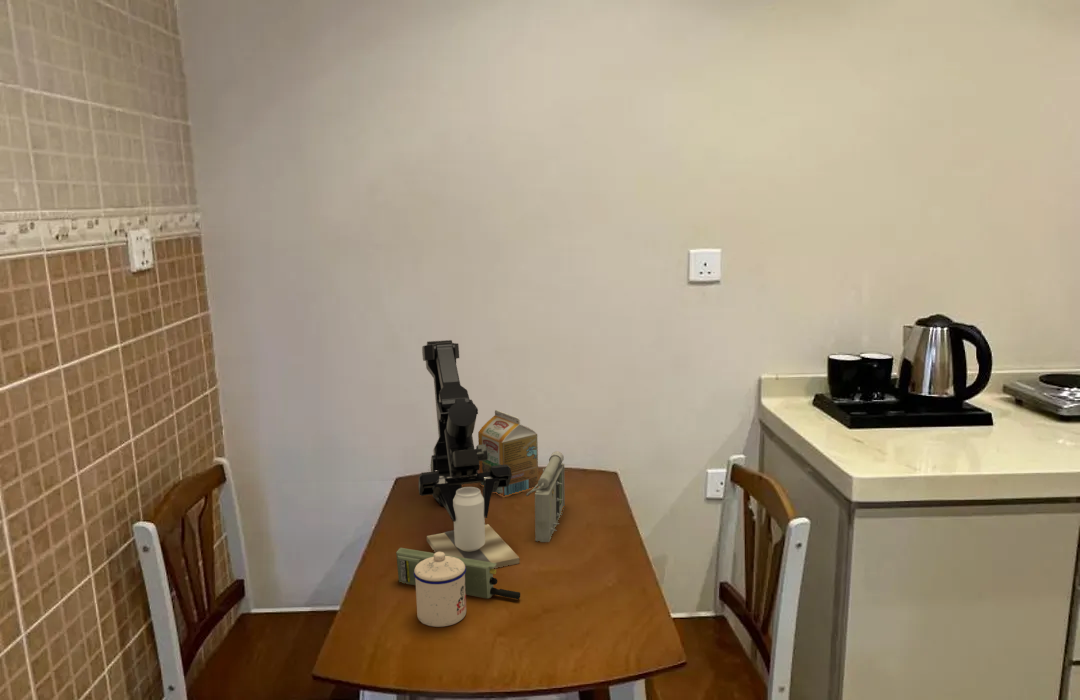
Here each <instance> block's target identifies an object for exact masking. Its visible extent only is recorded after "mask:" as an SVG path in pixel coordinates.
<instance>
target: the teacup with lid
mask: <svg viewBox="0 0 1080 700" xmlns="http://www.w3.org/2000/svg"><path fill="white" fill-rule="evenodd" d="M434 553H435V552H434ZM465 572H466V567H465V564H464V563H463V562H462V561H461V560H460V559H458V558H455V557H452V556H445V554H444V553H443V552H436V553H435V554H434V557H430V558H427V559H425V560H423V561H421V562H419V563H418V564H417V565H416V567H415V569H414V576H415V581H416V585H415V596H416V597H415V598H416V600H415V601H416V613H417V614H416V616H417V619H418V621H419V622H421V624H423V625H426V626H429V627H434V628H435V627H436V628H443V627H448V626H452V625H455V624H457V623H459V622H460V621H462V620H463V619H464V618H465V616H466V614H467V595H466V590H465Z"/></svg>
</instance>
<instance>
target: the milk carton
mask: <svg viewBox="0 0 1080 700" xmlns="http://www.w3.org/2000/svg"><path fill="white" fill-rule="evenodd" d="M477 436H478V438H477V439H478V445H483V444H486V447H487V454H488V459H487V460H485V461H479V467H480V468H479V470H478V471H479V473H485V472H490V468H491V466H496V465H506V464H507V465H508V466H509V467H510V468H511V474H512V476H511V480H510V483H509V486H507V487H500V488H497V491H495V492H497V493H498V494H501V495H503V496H505V495H509V494H512V493H515V492H519V491H522V490H526V489H529V488H532V487H535V486H536V485H537V484H538V481H539V456H538V455H539V451H538V450H539V449H538V448H539V446H538V443H539V442H538V433H537V432H536V431H535V430H533V429H532V428H530V427H527V426H525V425H523V424H521V419H520V418H519V417H517V416H515V415H511V414H509V413H506V412H503V411H500V410H498V409H495V410H494V415H493V416H492V417H491V418H490V419H489V420H487V421H486V423H484V425H483V426H481V428H480V429H479V431H478V435H477ZM480 484H481V485H484V482H480V483H479V485H480Z"/></svg>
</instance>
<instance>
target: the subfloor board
mask: <svg viewBox="0 0 1080 700" xmlns="http://www.w3.org/2000/svg"><path fill="white" fill-rule="evenodd" d="M426 542H427V544H428V545H429V546H430V548H431V549H432V551H433V550H434V551H433V553H436V552H443V553H444V554H445V555H449V556H455V557H461V558H467V559H473V560H480V561H486V562H492V563H496V566H495V567H494V568H495V569H499V568H498V567H500V568H503V566H504V567H507V566H508V565H509V566H513V565H517V564H520V557H519V555H518V554H517V553H516V552H515V551H514V550H513V549H512V548H511V547H510V546H509V544H508V543H506V542H505V541H504V540H503V538H502V537H501V536H500V535H499V534H498V533H497V532H496V531H495V529H494V528H493V527H492V526H490V524H488V523H487V524H485V544H484V545H483V546H482V547H481V548H479V549H478V550H475V551H463V550H461V549H459V548H457V547H456V546H455V538H454V529H452V530H448V531H444V532H442V533H436V534H431V535H426ZM494 568H492V569H494Z"/></svg>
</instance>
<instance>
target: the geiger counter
mask: <svg viewBox="0 0 1080 700" xmlns="http://www.w3.org/2000/svg"><path fill="white" fill-rule="evenodd" d="M564 459H565V458H564V454H563V452H561V451H557V450H556V451H553V452H552V454H551V455H550V456H549V459H548V463H547V465H546V467H544V468H542V474H541V475H540V477H539V478H538V484H537V485H536V486H535V487H534V488H533V489H532V490H529V491H527V493H526V494H525V496H526V497H528V496H530V495H531V494H532V493H533V492H535V493H534V514H535V515H534V522H535V523H534V529H535V530H534V533H535V535H534V537H535V538H534V539H535V542H538V541H540V543H550V541H551V539H552V537H553V535H552V534H554V532H557V531H558V530H557V529H556V528H555V527H557V526H558V525H561V524H560V523H559V521H560V519H559V518H561V516H562V515H563V514H564V513H563V512H561V511H562V508H563V506H566V505H565V502H566V501H565V499H566V498H565V488H566V487H565V463H563V462H564ZM537 487H538V488H537ZM561 513H562V514H561ZM560 515H561V516H560ZM558 520H559V521H558ZM551 536H552V537H551Z"/></svg>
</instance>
